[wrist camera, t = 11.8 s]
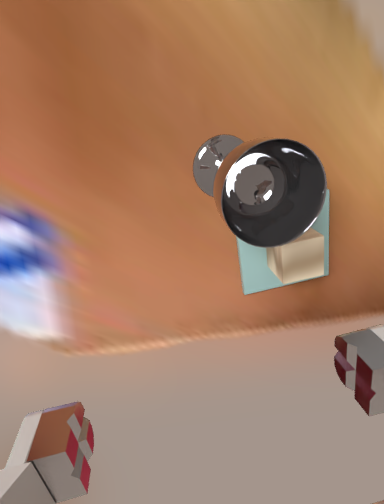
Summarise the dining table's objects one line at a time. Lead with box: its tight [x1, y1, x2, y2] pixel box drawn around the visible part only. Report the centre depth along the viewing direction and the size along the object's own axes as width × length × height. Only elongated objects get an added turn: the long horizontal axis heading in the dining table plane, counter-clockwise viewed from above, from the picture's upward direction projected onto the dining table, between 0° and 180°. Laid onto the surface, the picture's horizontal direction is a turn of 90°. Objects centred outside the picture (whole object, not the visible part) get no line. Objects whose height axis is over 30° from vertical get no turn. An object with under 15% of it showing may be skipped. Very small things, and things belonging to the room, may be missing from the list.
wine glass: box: [193, 135, 327, 248], centre depth 30 cm, size 8×8×15 cm
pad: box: [236, 189, 329, 295], centre depth 41 cm, size 12×12×1 cm
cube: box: [266, 227, 324, 284], centre depth 38 cm, size 5×5×5 cm
